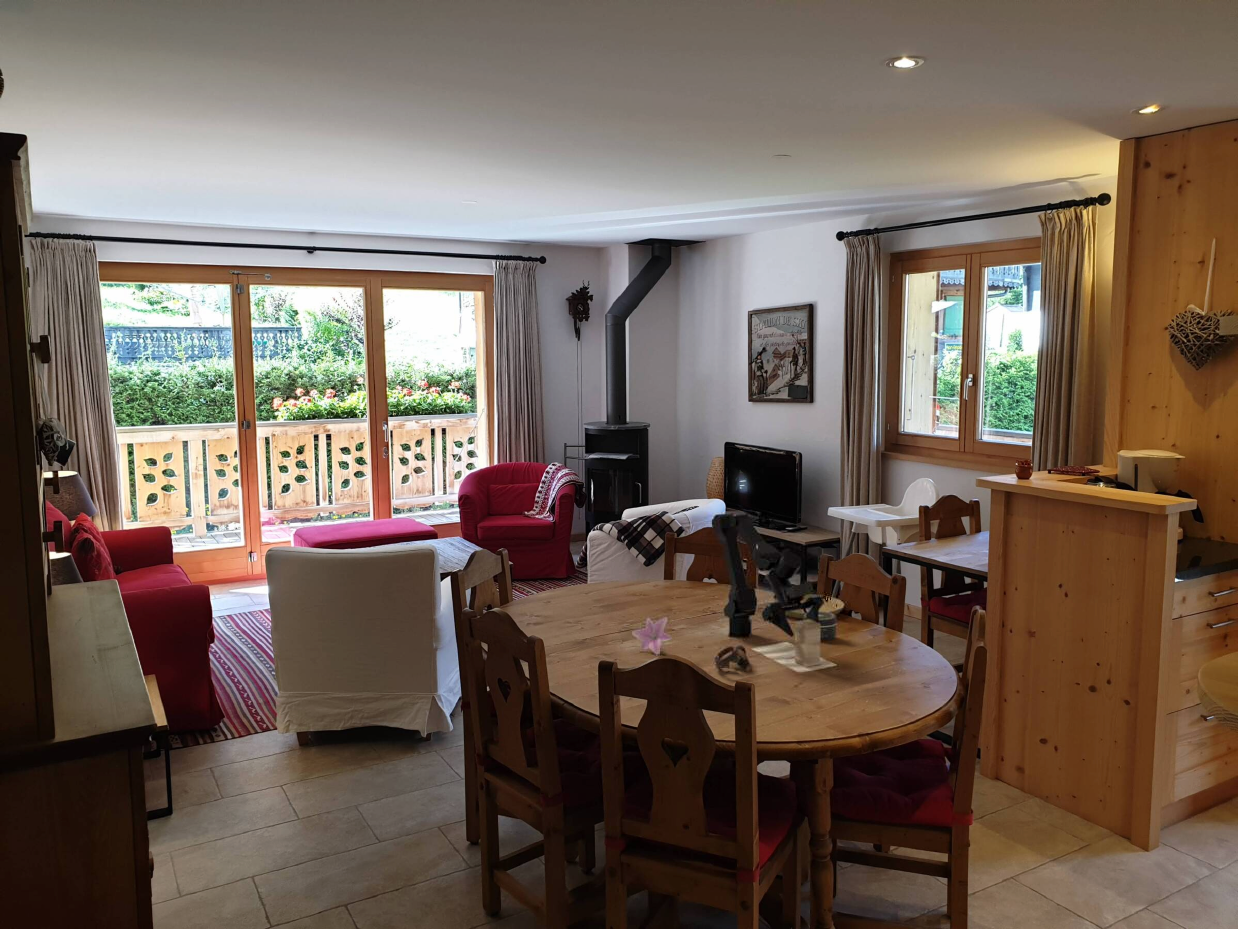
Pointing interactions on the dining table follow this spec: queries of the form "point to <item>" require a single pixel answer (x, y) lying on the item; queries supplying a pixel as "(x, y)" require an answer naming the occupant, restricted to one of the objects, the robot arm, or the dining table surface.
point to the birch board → (788, 656)
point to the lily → (652, 635)
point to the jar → (826, 625)
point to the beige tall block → (807, 643)
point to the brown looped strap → (732, 657)
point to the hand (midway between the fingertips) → (805, 633)
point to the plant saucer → (826, 607)
